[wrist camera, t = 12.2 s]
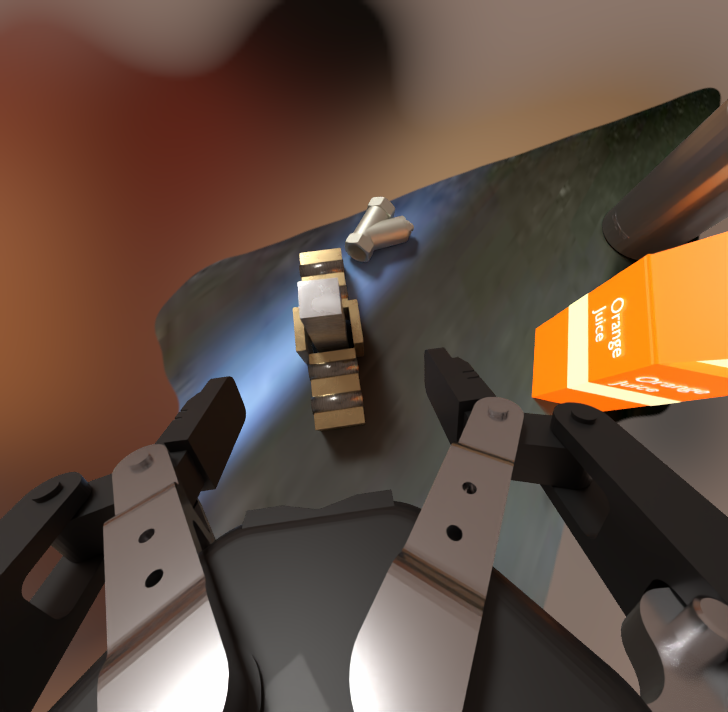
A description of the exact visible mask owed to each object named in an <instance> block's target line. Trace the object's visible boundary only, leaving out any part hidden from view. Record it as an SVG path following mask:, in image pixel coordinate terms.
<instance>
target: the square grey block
mask: <svg viewBox="0 0 728 712" xmlns="http://www.w3.org/2000/svg"><path fill="white" fill-rule="evenodd" d="M298 296H299V314H300V320H301V322H302V323H303V325H304V327H305V329H306V331H307V332H308V334H309V336H310V338H311V340H312V342H313V343H314V345H315V347H316V349H317V351H318V352H319V353H322V352H329V351H336V350H343V349H349V344H348V335H347V326H346V320H345V315H344V309H343V304H342V299H341V293H340V288H339V282H338V277H337V278H328V279H319V280H310V281H300V282H298Z"/></svg>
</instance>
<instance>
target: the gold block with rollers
mask: <svg viewBox="0 0 728 712" xmlns="http://www.w3.org/2000/svg"><path fill="white" fill-rule="evenodd" d="M300 263H301V265H299V270H300V276H301V279H302V281H310V280H319V279H328V278H337V277H338V282H339V288H340V293H341V299H342V304H343V309H344V315H345V320H351V327H352V334H353V341H354V348H351V349H343V350H336V351H329V352H322V353H315V354H314V352H313V342H312V340H311V338H310V336H309V334H308V332H307V331H306V329H305V327H304V325H303V323H302V322H301V320H300V314H299V307H295V308H293V317H294V330H295V343H296V352H297V353H298V354H299V356H300V357H301V358H302V359H303V361H304V362H305V363H306V364H309V365H308V371H309V378H310V381H311V385H312V397H311V405H312V411H313V415H314V418H315V429H316V430H318V431H326V430H332V429H339V428H346V427H353V426H359V425H365V418H364V411H363V408H364V404H363V397H362V390H361V389H360V383H359V369H358V362H357V358H356V357H361V356H364V343H363V336H362V329H361V323H360V316H359V309H358V303H357V299H355V300H349V299H348V292H347V285H346V284H345V277H344V276H345V271H344V264H343V259H342V256H341V249H340V248H337V249H329V250H321V251H314V252H306V253H300Z"/></svg>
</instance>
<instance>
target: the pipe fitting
mask: <svg viewBox="0 0 728 712" xmlns="http://www.w3.org/2000/svg"><path fill="white" fill-rule="evenodd" d="M394 213H395V207H394V206H393V205H392V203H391V202H390V201H389V200H388V199H386V198H385V197H374V198H372V199H371V201H370V203H369V205H368V208H367V212H366V213H365V215H364V216H363V218H362V220H361V221H360V223H359V225H358V226H357V228H356V229H355V231H354V233H352V234H350V235H349V237H348V238H347V240H346V241H345V251H346V252H347V253H348V255H349V256H350V257H352V258H353V259H355V260H356V261H359V262H368V261H369V260H370V258H371V256H372V254H373V250H377V249H381V248H384V247H388V246H392V245H396V244H400V243H404V242H407V240H408V237H409V236H410V234H411V231H413V229H414V226H413V224H412V223H411V224H410V222H409V221H407V220H406V219H405V217H404V216H399V217H395V218H393V217H394Z"/></svg>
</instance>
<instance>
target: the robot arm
mask: <svg viewBox="0 0 728 712" xmlns="http://www.w3.org/2000/svg"><path fill="white" fill-rule="evenodd" d="M727 217H728V99H727V100H726V101H725V102H724V103H723V104H722V105H721V106H720V107H719V108H718V109H717V110H716V111H715V112H714V113H712V114H711V115H710V116H709V117H708V118H707V119H706V120H705V121H704V122H703V123H702V124H701V125H700V126H699V127H698V128H697V129H696V130H695V131H694V132H692V133H691V134H690V135H689V136H688V137H687V138H686V139H685V140H684V141H683V142H682V143H681V144H680V145H679V146H678V147H677V148H676V149H675V150H673V151H672V152H671V153H670V154H669V155H668V156H667V157H666V158H665V159H664V160H663V161H662V162H661V163H660V164H659V165H658V166H657V167H656V168H655V169H653V170H652V171H651V172H650V173H649V174H648V175H647V176H646V177H645V178H644V179H643V180H642V181H641V182H640V183H639V184H638V185H637V186H636V187H634V188H633V189H632V190H631V191H630V192H629V193H628V194H627V195H626V196H625V197H624V198H623V199H622V200H621V201H620V202H619V203H618V204H617V205H616V206H614V207H613V208H612V209H611V210H610V211H609V212H608V213H607V214H606V216H605V218H604V220H603V224H602V226H603V232H604V235H605V237H606V239H607V241H608V242H609V243H610V245H611V246H612V247H613V248H614V249H616V250H617V251H618V252H619V253H621V254H623V255H625V256H627V257H629V258H632V259H635V260H640V259H642V258H643V257H645V256H646V255H648V254H655V253H658V252H661V251H665V250H668V249H671V248H675V247H678V246H681V245H683V244H685V243H687V242H688V241H690V240H691V239H693V238H695V237H696V236H698V235H700V234H701V233H703V232H704V231H706V230H708V229H709V228H711V227H713V226H714V225H716V224H717V223H719V222H721V221H722V220H724V219H725V218H727ZM424 361H425V388H426V393H427V396H428V398H429V400H430V402H431V404H432V406H433V408H434V410H435V413H436V415H437V417H438V419H439V421H440V423H441V425H442V427H443V429H444V432H445V434H446V436H447V438H448V440H449V442H450V444H451V446H450V448H449V450H448V453H447V455H446V457H445V459H444V461H443V463H442V466H441V468H440V470H439V472H438V474H437V477H436V479H435V481H434V483H433V485H432V488H431V490H430V492H429V494H428V496H427V498H426V501H425V503H424V505H423V507H422V509H420V508H418V507H416V506H413V505H410V504H407V503H403V502H397V501H393V496H392V491H391V490H385V491H378V492H371V493H364V494H357V495H354V496H352V497H349V498H347V499H344V500H342V501H339V502H336V503H334V504H331V505H329V506H326V507H324V508H321V509H309V508H300V507H291V506H276V507H269V508H262V509H256V510H249V511H247V512H246V515H245V518H244V522H243V525H240V526H238V527H236V528H234V529H232V530H230V531H229V532H227V533H225V534H224V535H222V536H221V537H219V538H218V539H217V540H216V539H215V537H214V534H213V532H212V530H211V527H210V525H209V522H208V520H207V517H206V515H205V512H204V510H203V507H202V505H201V503H200V501H199V500H198V496H199V494H200V492H201V491H206V490H213V489H216V487H217V485H218V482H219V480H220V478H221V475H222V473H223V471H224V468H225V466H226V464H227V461H228V459H229V457H230V454H231V452H232V450H233V447H234V445H235V443H236V440H237V438H238V436H239V433H240V431H241V429H242V426H243V424H244V422H245V418H246V410H245V406H244V403H243V401H242V398H241V396H240V393H239V391H238V388H237V386H236V383H235V381H234V379H233V378H232V377H230V376H229V377H221V378H214V379H210V380H209V381H208V383H207V384H206V385H205V387H204V388H203V390H202V391H201V392H199V393H198V394H196V395H195V396H194V397H192V398H191V399H190V400H188V401H187V403H186V404H185V405H184V407H183V408H182V409H181V412H179V413H178V414H177V416H176V417H175V420H173V421H172V422H171V423H170V425H169V426H168V427H167V429H166V430H165V431H164V433H163V434H162V435H161V436H160V438H159V439H158V440H157V442H156V443H155V444H154V445H149V446H146V447H143V448H141V449H138V450H137V451H135V452H133V453H131V454H130V455H128V456H127V457H125V458H124V459H123V460H122V461H121V462H120V463H119V464H118V465H117V466H116V467H115V469H114V471H113V473H112V474H110V475H107V476H104V477H101V478H98V479H95V480H93V481H90V482H87V481H86V480H85V479H84V478H83V477H82V475H81V474H79V473H77V472H69V473H65V474H62V475H58V476H56V477H54V478H51V479H49V480H47V481H46V482H44V483H42V484H40V485H39V486H37V487H36V488H34V489H33V490H31V491H30V492H29V493H28V494H26V495H25V496H24V497H23V498H22V499H21V500H20V501H19V502H18V503H17V504H16V505H15V506H14V507H13V508H12V509H11V510H10V511H9V512H8V513H7V514H6V515H5V516H4V517H3V518H2V519H0V712H31V711H32V709H33V707H34V706H35V704H36V702H37V700H38V698H39V697H40V695H41V693H42V691H43V690H44V688H45V686H46V684H47V683H48V681H49V679H50V677H51V676H52V674H53V672H54V670H55V669H56V667H57V665H58V663H59V661H60V660H61V658H62V656H63V655H64V653H65V651H66V649H67V647H68V646H69V644H70V642H71V641H72V639H73V637H74V635H75V634H76V632H77V630H78V628H79V626H80V625H81V623H82V621H83V620H84V618H85V616H86V614H87V613H88V611H89V609H90V607H91V605H92V604H93V602H94V600H95V599H96V597H97V595H98V593H99V591H100V590H101V588H102V586H103V585H104V583H105V589H106V590H105V591H106V618H107V646H108V650H107V651H106V652H105V653H104V654H103V655H102V656H101V657H100V658H99V659H98V660H97V661H96V662H95V663H94V664H93V665H92V666H91V667H90V669H88V670H87V672H85V673H84V675H83V676H82V677H81V678H80V679H79V680H78V681H77V682H76V683H75V684H74V685H73V686H72V687H71V688H70V689H69V690H68V691H67V692H66V693H65V694H64V695H63V696H62V698H60V699H59V701H57V703H56V704H55V705H54V706H53V707H52V708H51V709H50V710H49V711H48V712H728V517H727V516H726V515H725V514H723V513H722V512H721V511H720V510H719V509H718V508H716V507H715V506H714V505H713V504H712V503H710V502H709V501H708V500H707V499H706V498H704V497H703V496H702V495H701V494H700V493H699V492H697V491H696V490H695V489H694V488H693V487H692V486H690V485H689V484H688V483H687V482H686V481H684V480H683V479H682V478H681V477H680V476H679V475H677V474H676V473H675V472H674V471H673V470H672V469H670V468H669V467H668V466H667V465H665V464H664V463H663V462H662V461H661V460H659V458H657V457H656V456H655V455H654V454H653V453H651V452H650V451H649V450H648V449H647V448H645V447H644V446H643V445H642V444H641V443H640V442H638V441H637V440H636V439H635V438H634V437H633V436H631V435H630V434H629V433H628V432H627V431H625V430H624V429H623V428H622V427H621V426H620V425H618V424H617V423H616V422H615V421H614V420H612V419H611V418H610V417H609V416H608V415H606V414H605V413H604V412H602V411H601V410H599V409H597V408H594V407H592V406H589V405H586V404H582V403H575V402H566V403H561V404H559V405H557V406H556V407H555V408H554V411H553V415H540V414H529V413H523V411H522V409H521V408H520V407H519V406H518V405H517V404H515V403H514V402H512V401H510V400H507V399H504V398H499V397H496V396H495V394H494V393H493V392H492V391H491V389H490V388H489V387H488V386H487V385H486V383H485V382H484V381H483V380H482V379H481V378H480V377H479V375H478V374H477V373H476V371H474V369H473V368H472V367H471V365H470V364H469V363H468V362H466V361H464V360H462V359H460V358H459V357H456V358H452V357H451V356H450V355H449V353H448V352H447V351H446V349H445V348H436V349H428V350H425V355H424ZM510 480H515V481H522V482H529V483H536V484H540V485H541V486H542V488H543V490H544V491H545V493H546V494H547V496H548V497H549V499H550V500H551V502H552V503H553V505H554V506H555V508H556V510H557V511H558V513H559V514H560V516H561V517H562V519H563V520H564V522H565V523H566V525H567V526H568V528H569V529H570V531H571V532H572V534H573V536H574V537H575V539H576V540H577V542H578V543H579V545H580V546H581V548H582V549H583V551H584V553H585V554H586V555H587V557H588V559H589V560H590V562H591V563H592V565H593V566H594V568H595V569H596V571H597V572H598V574H599V576H600V577H601V579H602V580H603V582H604V583H605V585H606V586H607V588H608V589H609V591H610V592H611V594H612V595H613V597H614V599H615V600H616V602H617V603H618V605H619V606H620V608H621V609H622V611H623V612H624V614H625V616H626V618H625V619H624V621H623V623H622V627H621V637H622V642H623V645H624V648H625V651H626V653H627V655H628V657H629V659H630V661H631V664H632V666H633V668H634V670H635V673H636V675H637V678H638V681H639V686H640V696H639V695H638V694H637V692H636V691H635V690H634V689H633V688H632V687H631V686H630V685H629V684H628V683H627V682H626V681H625V680H624V679H623V678H622V677H621V676H620V675H619V674H618V673H617V672H616V671H615V670H613V669H612V668H611V667H610V666H609V665H608V664H606V663H605V662H604V661H603V660H602V659H601V658H599V657H598V656H597V655H596V654H595V653H594V652H593V651H591V650H590V649H589V648H588V647H587V646H585V645H584V644H583V643H582V642H581V641H580V640H578V639H577V638H576V637H575V636H574V635H573V634H571V633H570V632H569V631H568V630H567V629H566V628H564V627H563V626H562V625H561V624H560V623H559V622H557V621H556V620H555V619H554V618H553V617H551V616H550V615H549V614H548V613H547V612H546V611H545V610H543V609H542V608H541V607H540V606H539V605H537V604H536V603H535V602H534V601H533V600H532V599H530V598H529V597H528V596H527V595H526V594H525V593H523V592H522V591H521V590H520V589H519V588H518V587H516V586H515V585H514V584H513V583H512V582H511V581H509V580H508V579H507V578H506V577H505V576H504V575H502V574H501V573H500V572H499V571H498V570H496V569H495V568H494V567H493V561H494V557H495V552H496V547H497V542H498V537H499V533H500V528H501V523H502V518H503V514H504V509H505V504H506V499H507V495H508V490H509V485H510ZM50 545H51V546H52V547H54V548H55V549H56V550H57V551H59V553H61V554H62V555H63V557H62V558H61V560H60V561H59V562H58V564H57V565H56V566H55V568H54V569H53V570H52V572H51V573H50V574H49V576H48V577H47V578H46V580H45V581H44V583H43V584H42V585H41V587H40V588H39V589H38V591H37V592H36V594H35V595H34V596H33V598H32V599H31V600H30V602H28V601H27V600H25V599H24V598H23V596H22V593H21V592H22V591H21V590H22V584H23V582H24V580H25V578H26V576H27V575H28V573H29V572H30V571H31V569H32V568H33V567H34V565H35V564H36V563H37V562H38V561H39V559H40V558H41V557H42V555H43V554H44V553H45V552H46V550H47V549H48V548H49V547H50Z"/></svg>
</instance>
